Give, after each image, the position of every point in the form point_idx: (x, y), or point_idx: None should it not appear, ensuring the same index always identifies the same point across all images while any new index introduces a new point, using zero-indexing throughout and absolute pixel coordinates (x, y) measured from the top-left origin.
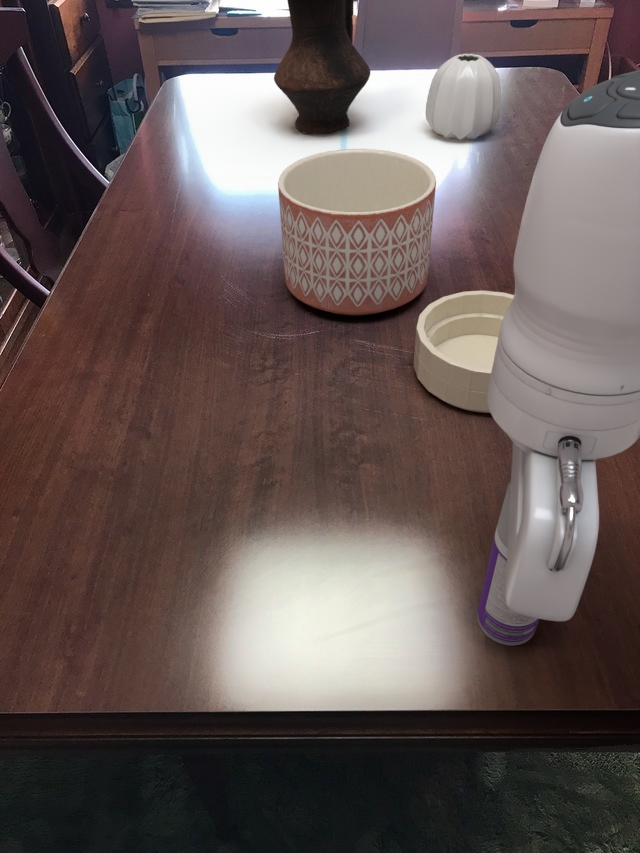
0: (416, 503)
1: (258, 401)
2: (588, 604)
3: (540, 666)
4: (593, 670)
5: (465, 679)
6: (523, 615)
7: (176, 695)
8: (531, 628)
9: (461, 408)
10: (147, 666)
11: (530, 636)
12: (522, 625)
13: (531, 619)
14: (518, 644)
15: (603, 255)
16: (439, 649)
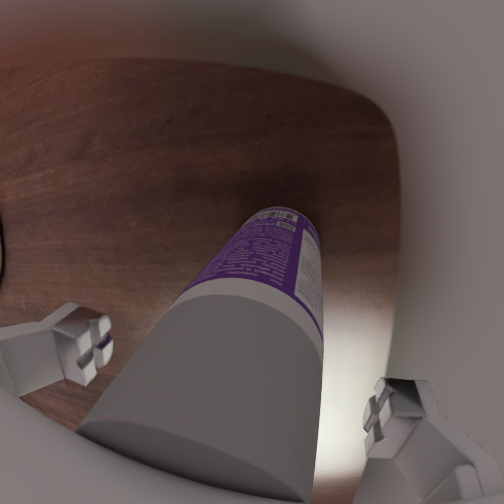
0: (119, 328)
1: (63, 424)
2: (244, 125)
3: (349, 212)
4: (352, 140)
5: (365, 307)
6: (321, 271)
7: (349, 488)
8: (312, 232)
9: (1, 256)
10: (325, 499)
11: (309, 222)
12: (320, 257)
13: (316, 248)
14: (318, 237)
15: None
16: (324, 332)
